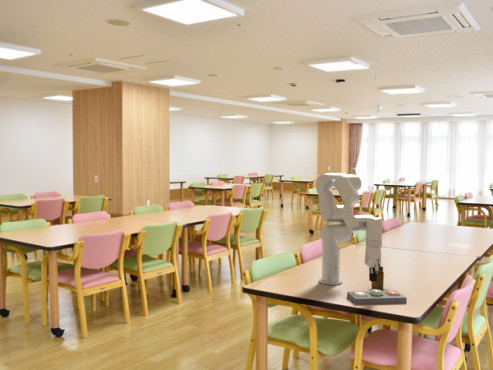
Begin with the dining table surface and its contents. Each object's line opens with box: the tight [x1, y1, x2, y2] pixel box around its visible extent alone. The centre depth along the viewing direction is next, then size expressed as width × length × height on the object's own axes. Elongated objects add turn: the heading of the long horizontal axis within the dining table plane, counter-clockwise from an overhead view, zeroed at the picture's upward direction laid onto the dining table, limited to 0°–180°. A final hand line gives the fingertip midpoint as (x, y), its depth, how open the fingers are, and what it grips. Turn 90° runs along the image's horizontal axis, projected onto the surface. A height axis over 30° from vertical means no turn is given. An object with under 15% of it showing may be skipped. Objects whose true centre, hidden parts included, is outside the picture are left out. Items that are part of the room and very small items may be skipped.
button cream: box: [355, 292, 365, 297], centre depth 220 cm, size 5×5×2 cm
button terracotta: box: [387, 290, 399, 296], centre depth 222 cm, size 5×5×2 cm
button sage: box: [370, 289, 382, 296], centre depth 221 cm, size 5×5×2 cm
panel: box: [346, 289, 408, 305], centre depth 221 cm, size 12×25×2 cm, turn 97°
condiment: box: [368, 265, 390, 291], centre depth 239 cm, size 7×8×12 cm
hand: (372, 280), depth 221 cm, fingers closed
